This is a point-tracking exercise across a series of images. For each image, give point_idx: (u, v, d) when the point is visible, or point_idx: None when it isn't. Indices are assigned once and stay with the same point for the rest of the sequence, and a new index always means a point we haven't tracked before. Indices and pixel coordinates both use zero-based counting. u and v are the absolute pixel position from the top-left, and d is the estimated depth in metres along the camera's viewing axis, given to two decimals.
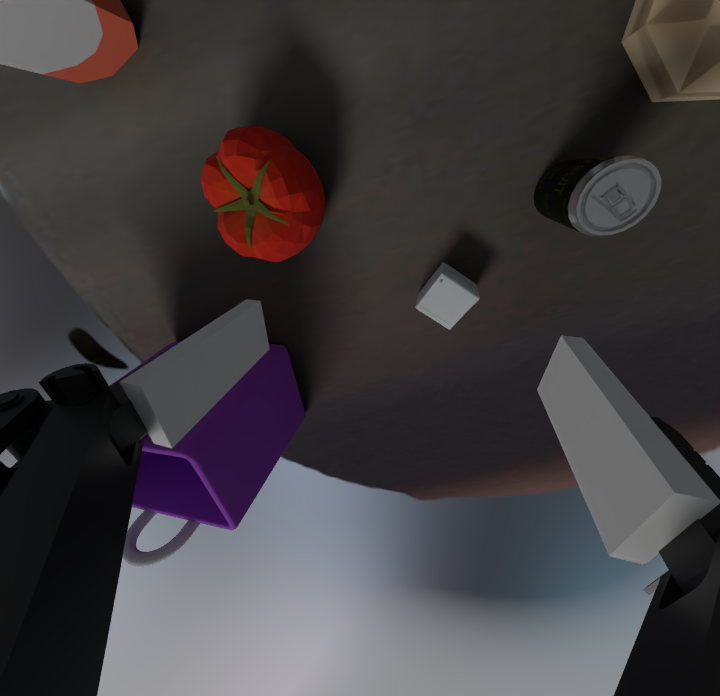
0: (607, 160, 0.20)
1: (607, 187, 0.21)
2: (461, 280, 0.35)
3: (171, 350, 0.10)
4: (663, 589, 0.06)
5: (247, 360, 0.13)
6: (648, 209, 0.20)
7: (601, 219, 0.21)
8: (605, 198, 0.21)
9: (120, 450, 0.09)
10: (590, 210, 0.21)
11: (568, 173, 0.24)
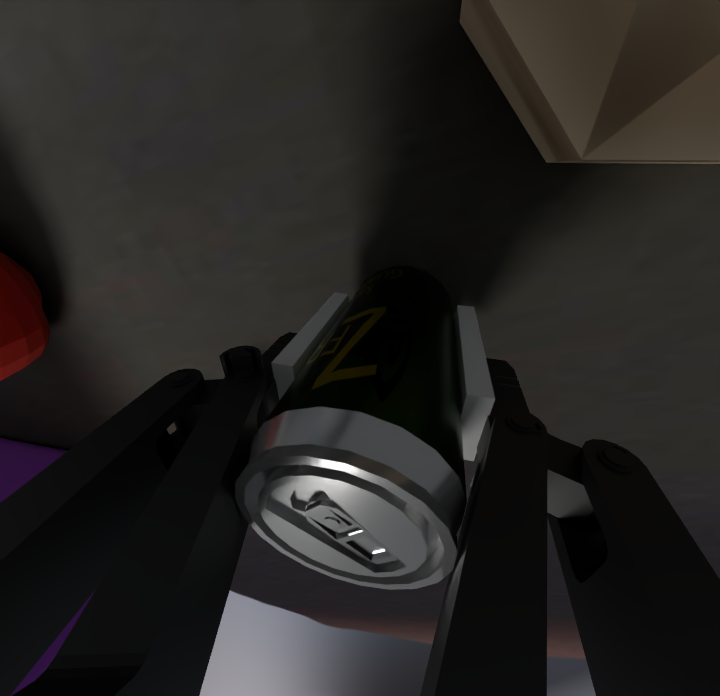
0: (297, 410, 0.06)
1: (308, 490, 0.06)
2: None
3: (298, 336, 0.11)
4: (474, 479, 0.08)
5: None
6: (438, 574, 0.06)
7: (322, 555, 0.07)
8: (309, 518, 0.06)
9: None
10: (283, 532, 0.07)
11: None
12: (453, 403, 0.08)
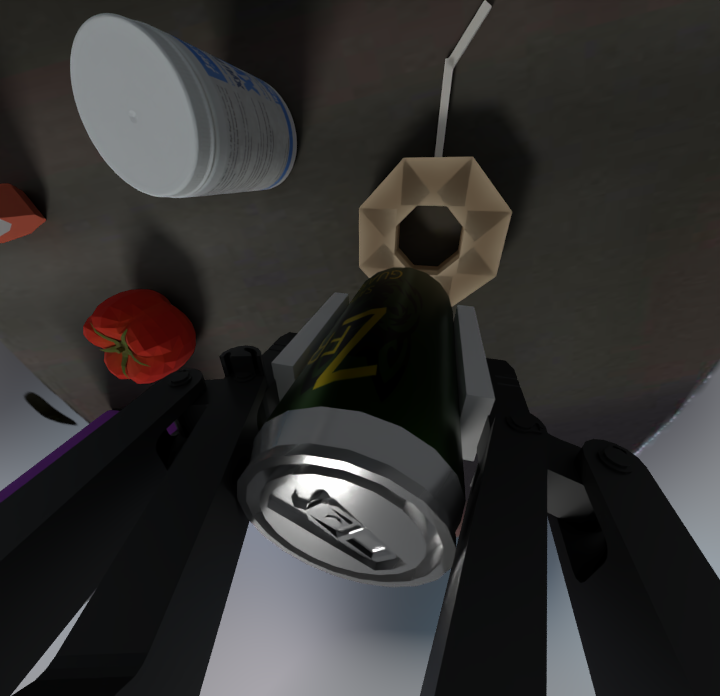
0: (299, 410, 0.06)
1: (309, 489, 0.06)
2: None
3: (298, 336, 0.11)
4: (474, 479, 0.08)
5: None
6: (437, 572, 0.06)
7: (323, 553, 0.07)
8: (310, 516, 0.06)
9: None
10: (285, 530, 0.07)
11: None
12: (452, 403, 0.08)
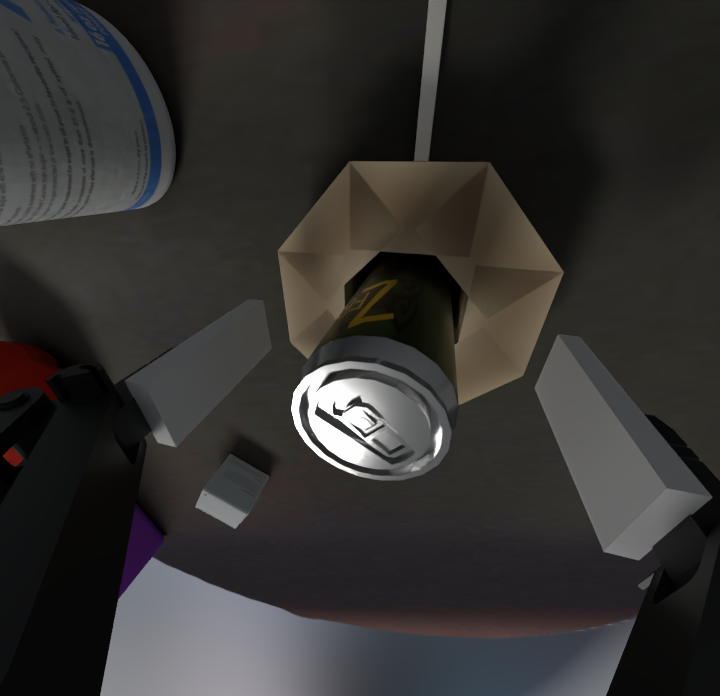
0: (339, 339, 0.08)
1: (346, 398, 0.09)
2: (234, 488, 0.32)
3: (175, 349, 0.10)
4: (656, 584, 0.06)
5: (250, 359, 0.13)
6: (438, 457, 0.09)
7: (352, 454, 0.09)
8: (346, 420, 0.09)
9: (124, 449, 0.09)
10: (325, 436, 0.09)
11: None
12: (449, 346, 0.10)
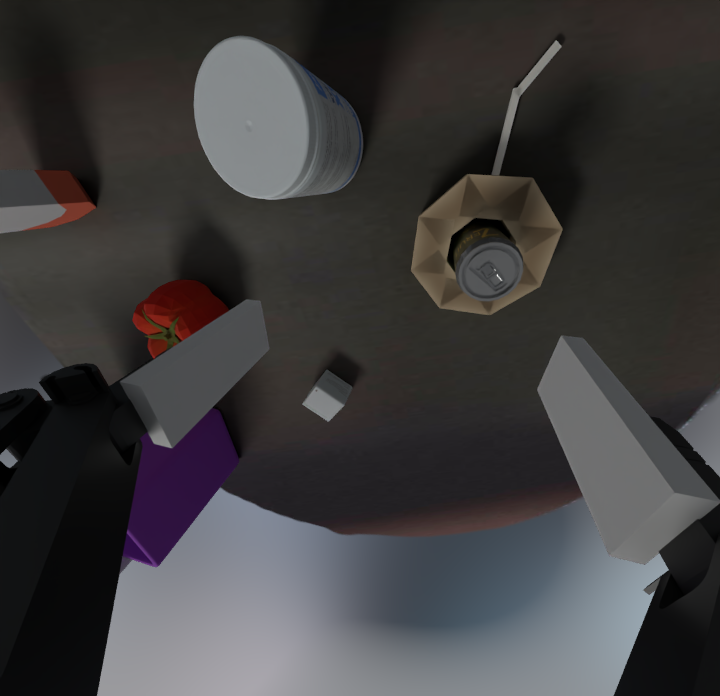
0: (482, 239, 0.23)
1: (482, 262, 0.24)
2: (334, 389, 0.46)
3: (171, 350, 0.10)
4: (663, 589, 0.06)
5: (247, 360, 0.13)
6: (515, 284, 0.23)
7: (479, 288, 0.24)
8: (481, 271, 0.24)
9: (120, 450, 0.09)
10: (470, 280, 0.24)
11: (464, 240, 0.27)
12: None
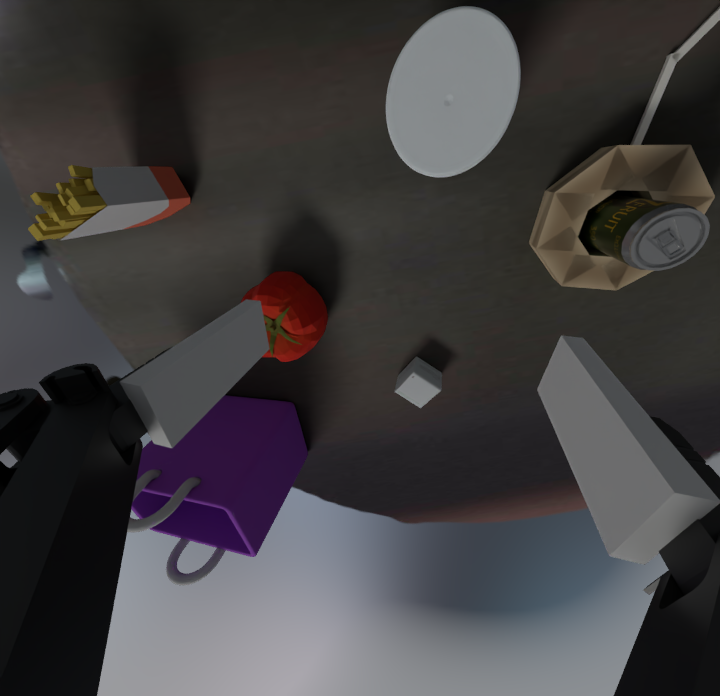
0: (661, 207, 0.23)
1: (660, 230, 0.23)
2: (428, 375, 0.46)
3: (171, 350, 0.10)
4: (663, 589, 0.06)
5: (247, 360, 0.13)
6: (696, 250, 0.23)
7: (652, 257, 0.24)
8: (658, 239, 0.24)
9: (120, 450, 0.09)
10: (643, 249, 0.24)
11: (619, 212, 0.27)
12: None
